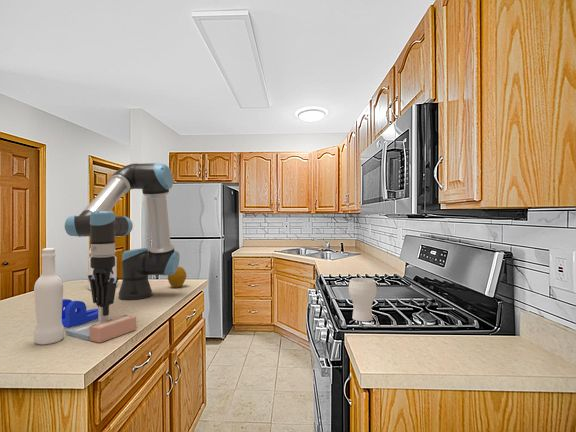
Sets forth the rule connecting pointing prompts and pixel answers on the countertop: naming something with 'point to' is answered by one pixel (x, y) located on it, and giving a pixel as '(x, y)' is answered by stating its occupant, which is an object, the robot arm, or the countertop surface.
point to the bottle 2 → (90, 270)
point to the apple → (177, 278)
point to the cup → (362, 297)
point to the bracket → (76, 313)
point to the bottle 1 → (48, 302)
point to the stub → (112, 328)
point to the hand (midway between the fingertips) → (103, 324)
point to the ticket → (80, 331)
